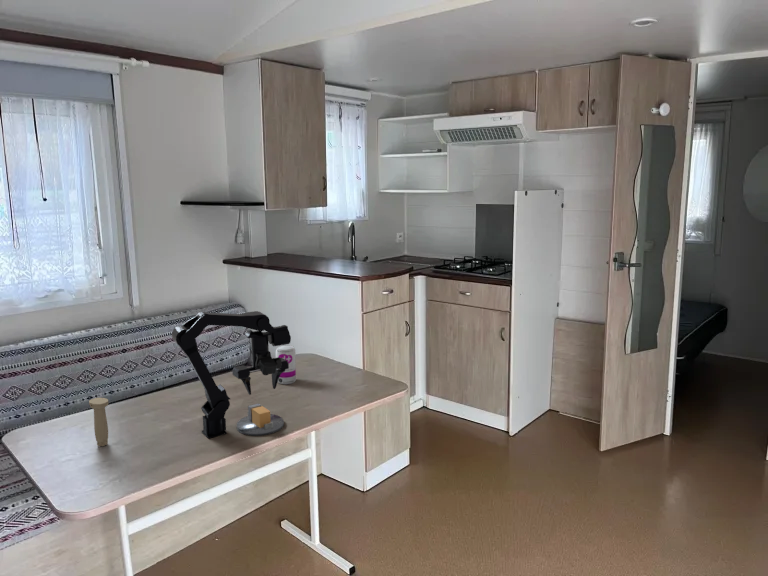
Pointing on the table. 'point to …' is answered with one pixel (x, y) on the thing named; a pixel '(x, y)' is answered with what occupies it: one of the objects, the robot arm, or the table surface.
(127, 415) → the table surface
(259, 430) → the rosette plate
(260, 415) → the tan and grey block
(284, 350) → the supplement can
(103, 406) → the handle
